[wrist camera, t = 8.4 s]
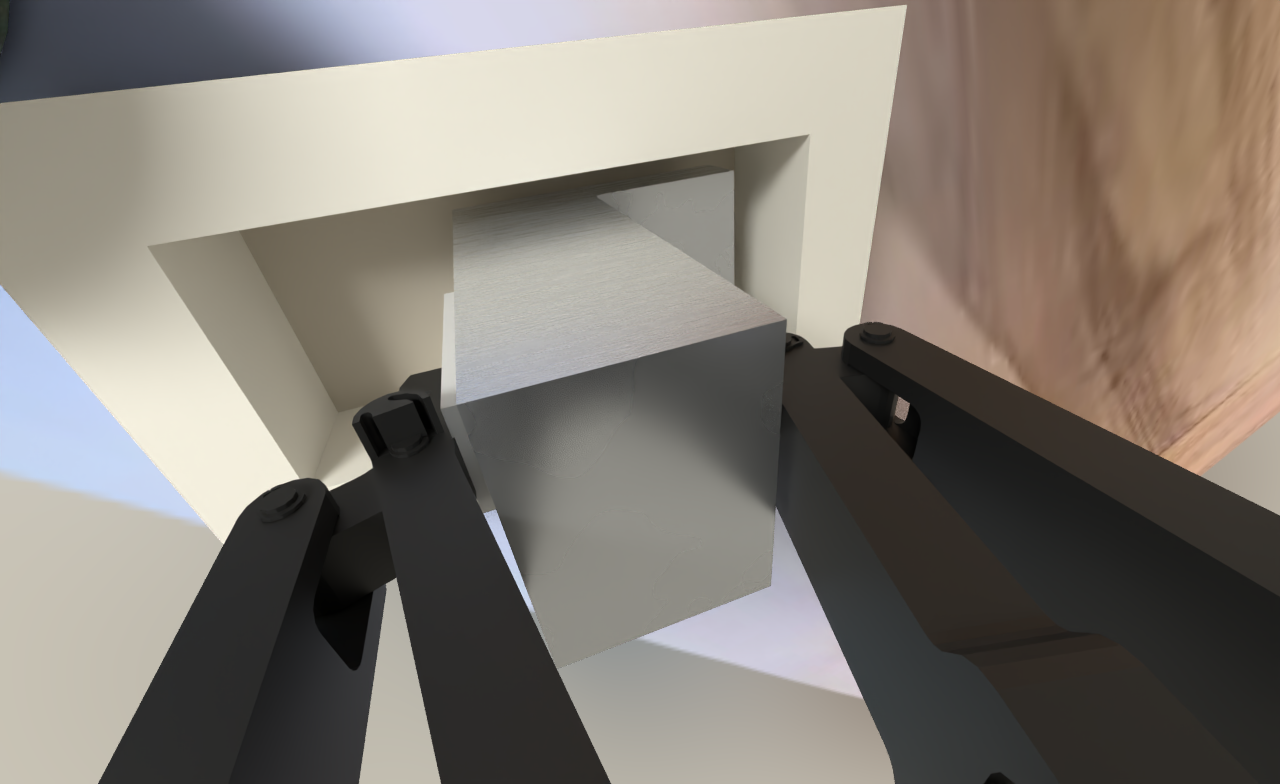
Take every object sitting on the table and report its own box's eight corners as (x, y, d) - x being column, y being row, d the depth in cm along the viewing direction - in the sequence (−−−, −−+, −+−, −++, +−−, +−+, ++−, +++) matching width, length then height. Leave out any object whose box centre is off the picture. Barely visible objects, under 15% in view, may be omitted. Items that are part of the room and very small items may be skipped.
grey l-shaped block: (452, 209, 16) (456, 404, 6) (708, 164, 18) (1058, 248, 8) (499, 363, 20) (557, 669, 9) (713, 310, 22) (964, 509, 11)
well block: (60, 113, 14) (-142, 118, 9) (793, 29, 19) (907, 4, 14) (298, 476, 21) (255, 582, 17) (777, 346, 27) (848, 398, 22)
